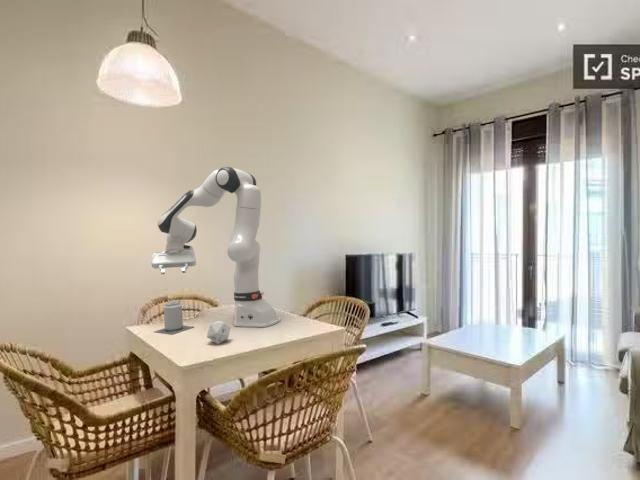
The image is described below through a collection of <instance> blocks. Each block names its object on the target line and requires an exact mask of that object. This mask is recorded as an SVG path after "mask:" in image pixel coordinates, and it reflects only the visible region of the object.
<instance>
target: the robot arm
mask: <svg viewBox="0 0 640 480" xmlns="http://www.w3.org/2000/svg"><path fill="white" fill-rule="evenodd" d="M226 192H228V193H230V194H233V193H234V194H235V196H236V200H237V201H236V207H235V218H234V219H235V220H234V227H233V230H232V234H231V237H230V241H229V244H228V247H227V249H226V251H227V256H228V258H229V259H230V260H231V261H232V262H234V263H235V270H234V274H233V282H234V283H233V284H234V287H233V288H234V292H233V299H234V313H233V320H232V323H233V327H245V328H246V327H248V328H266V327H270V326H273V325H275V324H278V323H280V322H281V320H282V319H281V317H277V316H276V311H275V307H274V306H272V305H271V304H269V302H267V301H266V300H265V299H264V298H263V295H264V293H265V292H261V290H260V289H259V288H260V287H259V267H260V265H259V264H260V252H261V247H260V244H259V242H258V241H257V240H256V237H257V233H258V230H259V228H260V220H261V219H260V218H261V209H262V195H261V189H260V188H259V187H258V186H257V180H256V178H255V176H253V175H252V174H251V173H249V172H246V171H244V170H241V169H238V168H234V167H231V166H223V167H220V168H219V169H215V170H213V171H212V172H211V173H210V174H209V175H208V176H207V177H206V178H205V179H204V181H203V182H202V184H201V185H200V186H199V187H197V188H195V189H193V190H192V189H191V190H188V191H187V192H186V193H184V195H183V196H181V197H180V198H179V199H177V201H176V202H175V203H174V204H173V205H172V206H171V207H170V208H169V209H168V210H167V211H165V212H164V213H163V214H161V216H160V217H159V219H158V221H157V227H158V229H159V231H160V232H162V233H165V234H167V235H166V245H165V251H156V252H154V253H152V255H151V267H152V268H153V269H155V270H156V269H159V270H160V274H161V275H165V274H166V271H165V269H169V268H181V272H182V274H185V273H186V271H187V270H188V269H189V267H195V266H196V265H197V258H196V255H195V251H194V248H193V246H192V245H188V243H190V242H191V241H193V240H194V239H195V238H196V237H197V231H198V230H197V225H196V224H195V223H194V222H192V221H189V220H187V219H184V218H183V217H180V216H179V215H181V213H182V212H183V211H184V210H186V208H188V207H204V208H210V207H214V206H215V205H217V204H218V203H219V202H221V199H222V198H223V196H224V195H225V193H226Z"/></svg>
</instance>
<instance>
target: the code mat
mask: <svg viewBox="0 0 640 480" xmlns="http://www.w3.org/2000/svg"><path fill="white" fill-rule="evenodd" d="M193 328H194V326H192V325H183V327H182V328H181V329H179V330H176V331H167V330H166V329H165V327H164V328H160V329H157V330H154V331H153V333H158V334H165V335H172V336H173V335H176V334H178V333H181V332H184V331H187V330H190V329H193Z"/></svg>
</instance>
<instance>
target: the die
mask: <svg viewBox="0 0 640 480" xmlns="http://www.w3.org/2000/svg"><path fill="white" fill-rule="evenodd" d="M208 328H209V329H208V331H207V335H206V338H207V339H208V340H211V341H212V342H213V343H215V344H217V345H220V344H222V343H224V342H226V341H228V338H229V337H230V336H229V335H230V331H231V327H230V326H229V325H228V324H227V323H225V322H224V321H221V320H217V321H214V322H212V323H210V324H209V327H208Z"/></svg>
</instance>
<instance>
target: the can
mask: <svg viewBox="0 0 640 480" xmlns="http://www.w3.org/2000/svg"><path fill="white" fill-rule="evenodd" d="M164 304H165V305H164V306H163V320H164V328H165V329H166V330H167V331H176V330H179V329H181V328H182V327H183V326H184V320H183V305H182V304H181V302H180V301H178V300H177V301H174V300H173V301H168V302H166V303H165V302H164Z"/></svg>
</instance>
